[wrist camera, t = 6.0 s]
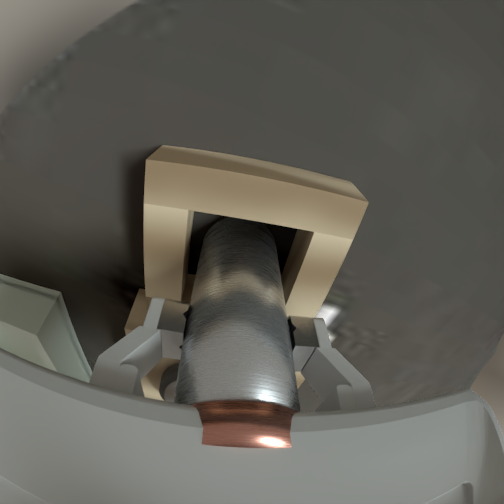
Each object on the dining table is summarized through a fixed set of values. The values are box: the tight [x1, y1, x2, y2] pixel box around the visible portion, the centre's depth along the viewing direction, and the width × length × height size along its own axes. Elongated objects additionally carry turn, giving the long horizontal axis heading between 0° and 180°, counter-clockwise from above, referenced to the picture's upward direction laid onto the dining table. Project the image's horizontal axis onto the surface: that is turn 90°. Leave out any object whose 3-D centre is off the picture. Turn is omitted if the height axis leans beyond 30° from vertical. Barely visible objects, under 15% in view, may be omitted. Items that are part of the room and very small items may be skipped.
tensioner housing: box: [124, 145, 369, 403], centre depth 16 cm, size 20×12×6 cm, turn 168°
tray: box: [0, 274, 93, 383], centre depth 19 cm, size 16×16×4 cm
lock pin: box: [174, 217, 300, 448], centre depth 11 cm, size 4×4×11 cm
